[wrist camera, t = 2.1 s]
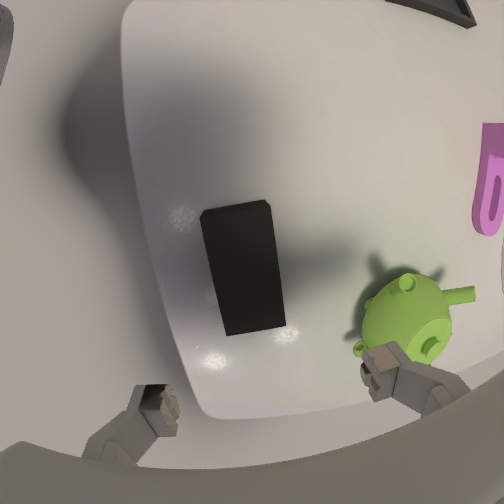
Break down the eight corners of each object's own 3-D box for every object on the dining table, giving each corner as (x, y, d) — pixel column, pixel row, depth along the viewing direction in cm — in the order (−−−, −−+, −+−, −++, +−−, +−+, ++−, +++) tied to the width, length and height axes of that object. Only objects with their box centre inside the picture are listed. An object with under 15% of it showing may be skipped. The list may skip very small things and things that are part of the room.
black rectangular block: (203, 210, 22) (199, 217, 19) (265, 199, 22) (270, 205, 19) (226, 317, 25) (226, 336, 22) (280, 308, 25) (286, 326, 22)
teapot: (328, 346, 27) (357, 403, 19) (370, 243, 24) (424, 279, 16) (404, 351, 29) (439, 395, 21) (445, 266, 26) (495, 298, 18)
